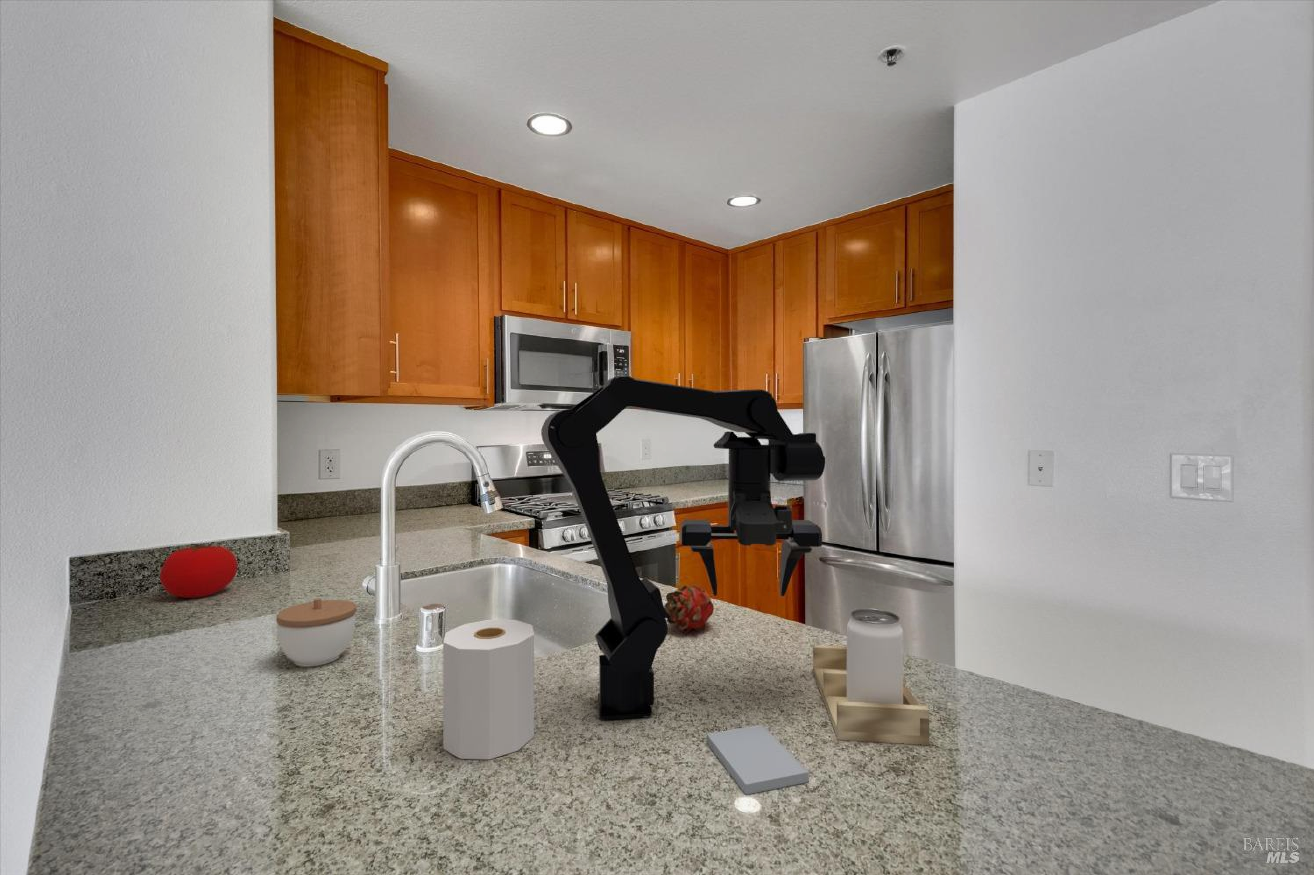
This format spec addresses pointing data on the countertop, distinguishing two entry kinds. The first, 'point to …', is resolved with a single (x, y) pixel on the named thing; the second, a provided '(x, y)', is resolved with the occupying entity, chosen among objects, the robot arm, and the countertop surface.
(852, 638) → the can
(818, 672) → the rack
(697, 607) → the dragon fruit
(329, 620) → the lidded jar
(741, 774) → the block
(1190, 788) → the countertop surface
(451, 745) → the toilet paper
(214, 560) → the tomato
